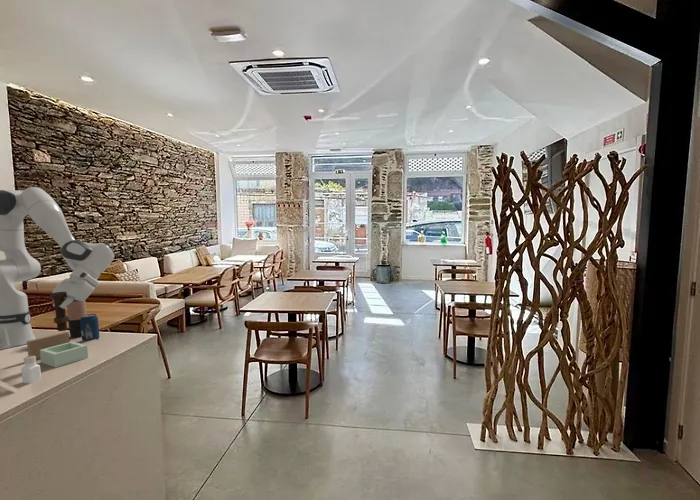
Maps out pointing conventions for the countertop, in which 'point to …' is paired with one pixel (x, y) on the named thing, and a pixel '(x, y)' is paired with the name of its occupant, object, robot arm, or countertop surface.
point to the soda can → (89, 327)
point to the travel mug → (76, 317)
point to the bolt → (60, 311)
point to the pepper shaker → (30, 370)
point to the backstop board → (46, 343)
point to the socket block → (63, 354)
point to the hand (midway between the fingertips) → (58, 307)
